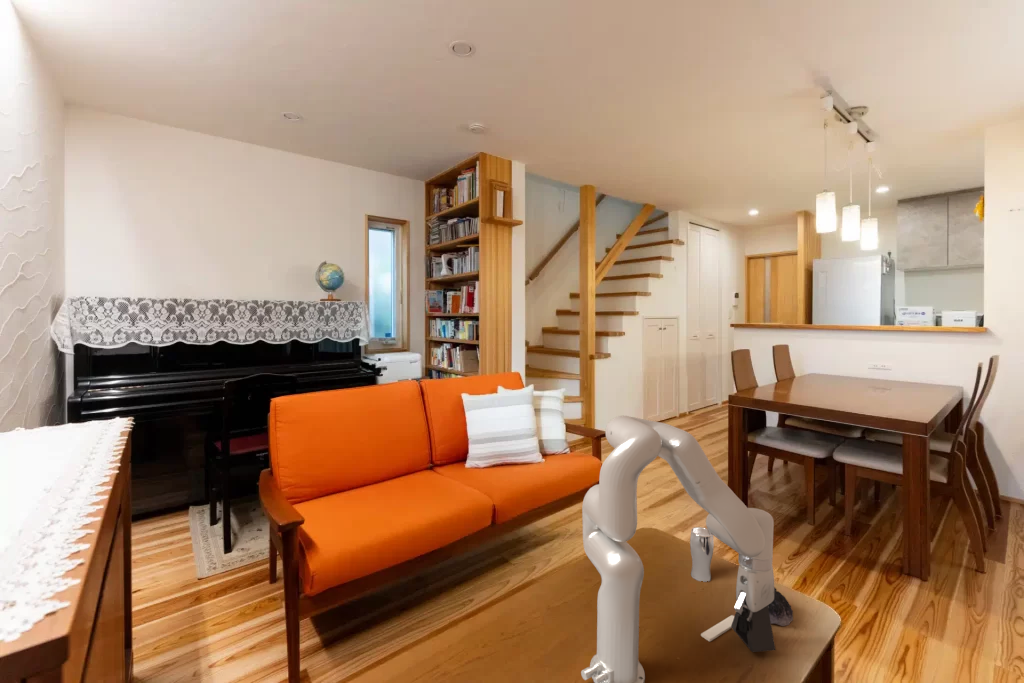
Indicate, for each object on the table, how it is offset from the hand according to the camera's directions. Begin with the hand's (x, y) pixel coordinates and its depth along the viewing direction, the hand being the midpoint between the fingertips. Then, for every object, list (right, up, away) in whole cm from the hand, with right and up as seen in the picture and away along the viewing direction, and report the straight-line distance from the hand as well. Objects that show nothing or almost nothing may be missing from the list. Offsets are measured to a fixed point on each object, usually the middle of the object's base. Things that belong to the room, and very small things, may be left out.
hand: (752, 627), depth 114 cm
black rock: (+11, -5, +14) cm, 18 cm away
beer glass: (0, -4, +31) cm, 31 cm away
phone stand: (0, -3, 0) cm, 3 cm away
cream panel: (-5, -5, +7) cm, 10 cm away
